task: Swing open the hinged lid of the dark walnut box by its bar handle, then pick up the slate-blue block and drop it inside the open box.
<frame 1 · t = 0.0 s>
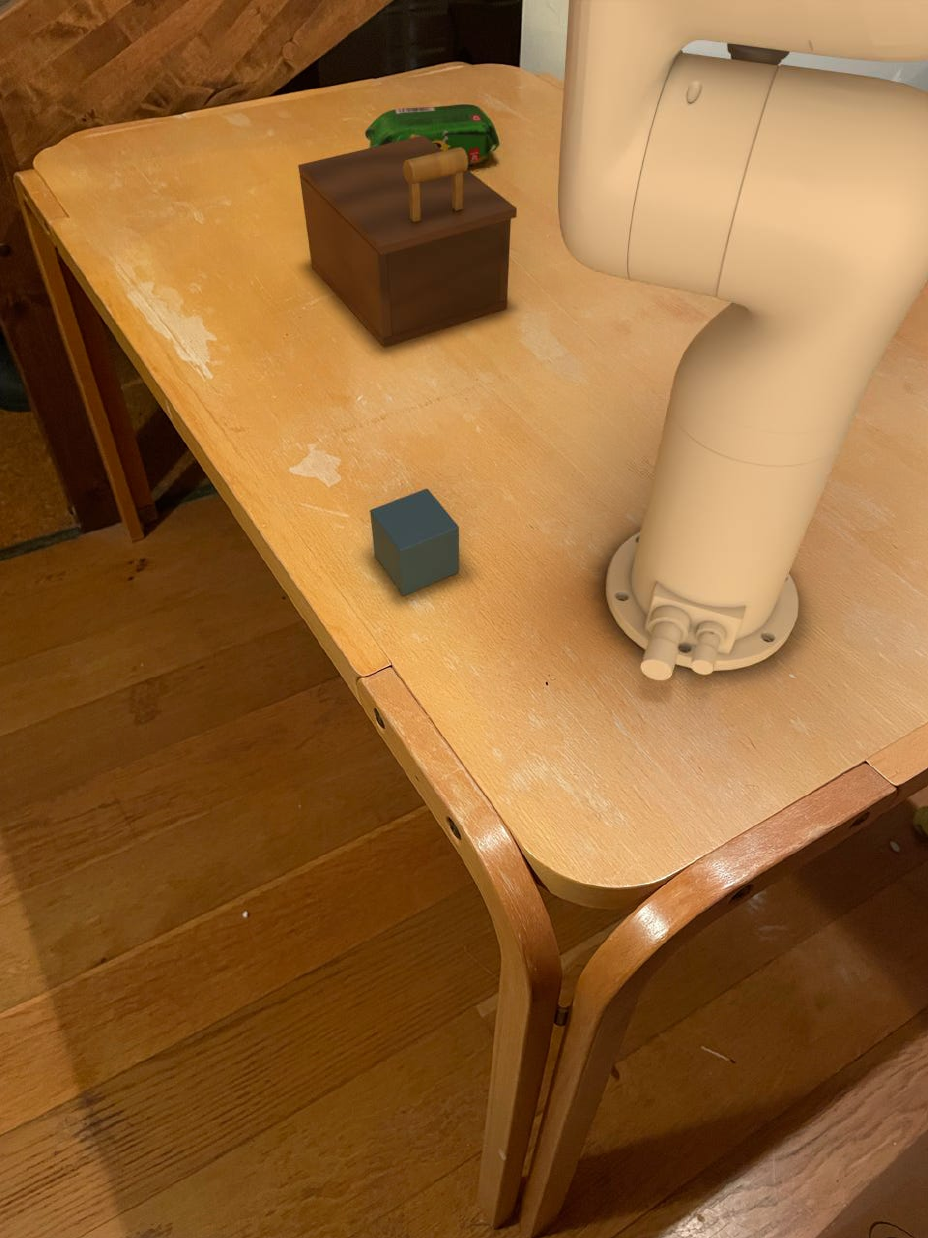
candle holder: (709, 260, 89), on the table
snack package: (432, 162, 103), on the table
lid: (402, 161, 76), point 12 cm above the table, hinge at 0.0°
block: (416, 563, 62), on the table
chest: (406, 287, 85), on the table
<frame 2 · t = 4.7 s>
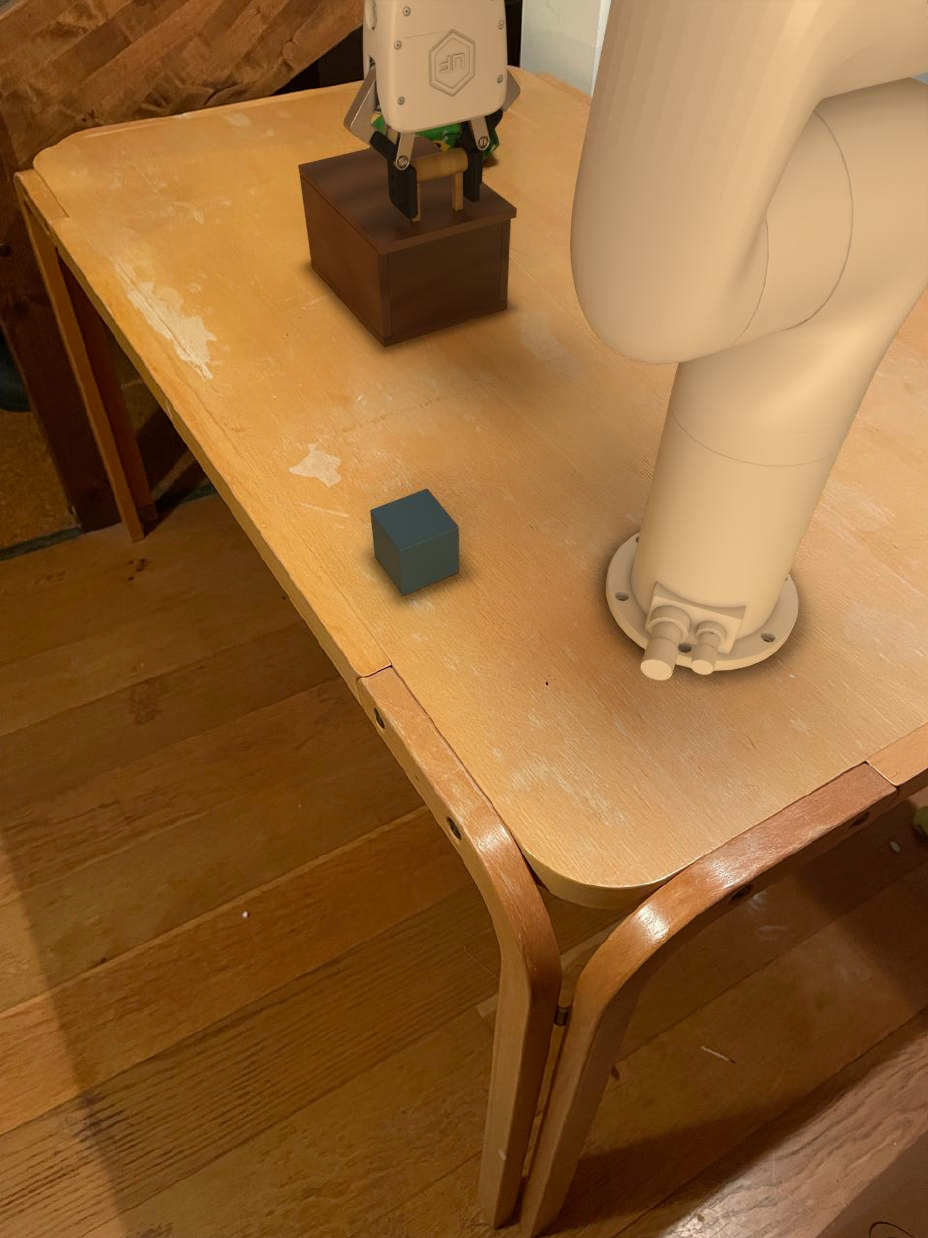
hand: (436, 201, 73), 11 cm above the table, tool pointing down, fingers closed on lid, 5 cm apart
lid: (402, 161, 76), point 12 cm above the table, hinge at 0.0°, touching gripper
everything else where it was.
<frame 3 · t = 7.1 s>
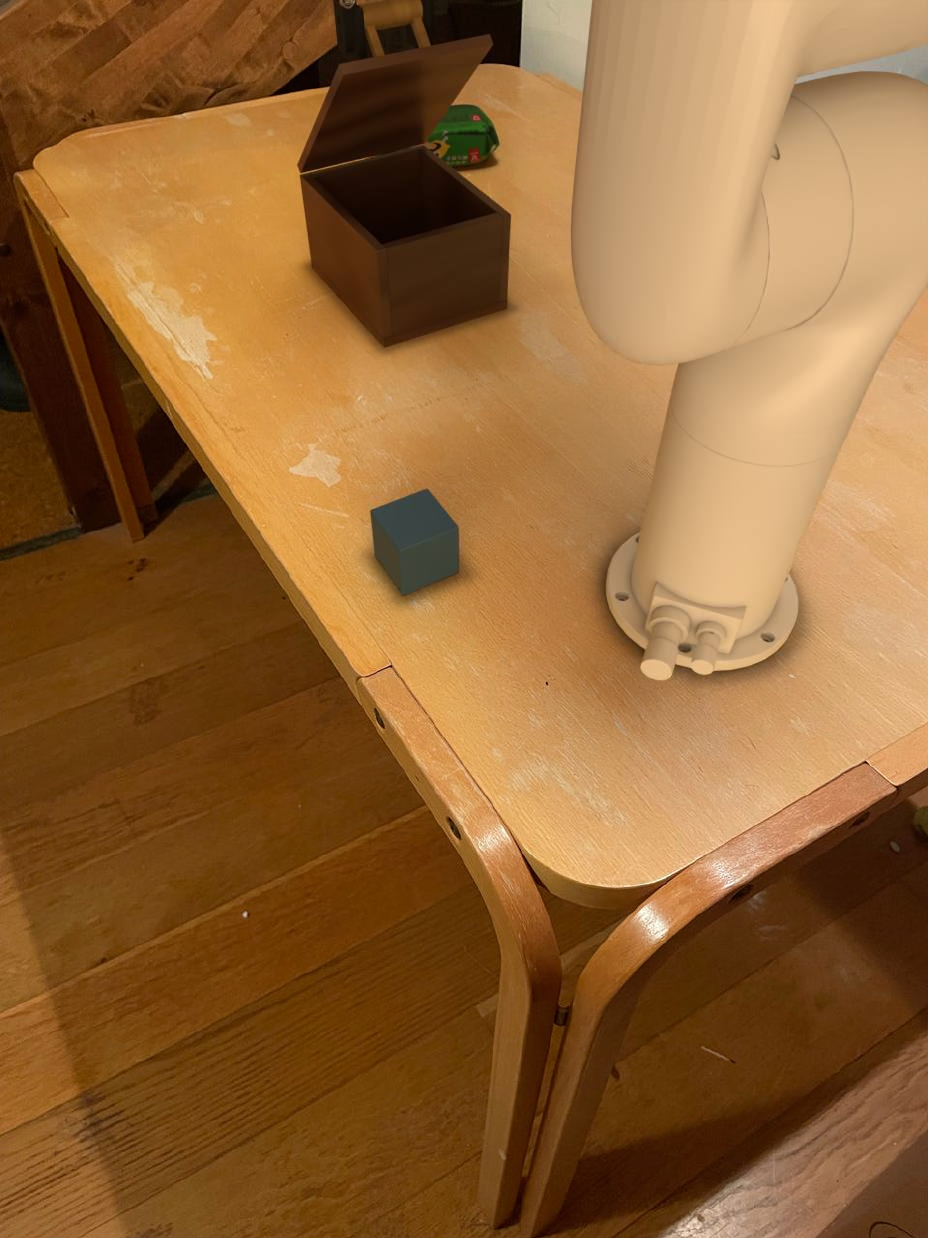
hand: (387, 52, 71), 20 cm above the table, tool pointing down, fingers closed on lid, 5 cm apart
lid: (377, 79, 74), point 17 cm above the table, hinge at 44.4°, touching gripper
everything else where it was.
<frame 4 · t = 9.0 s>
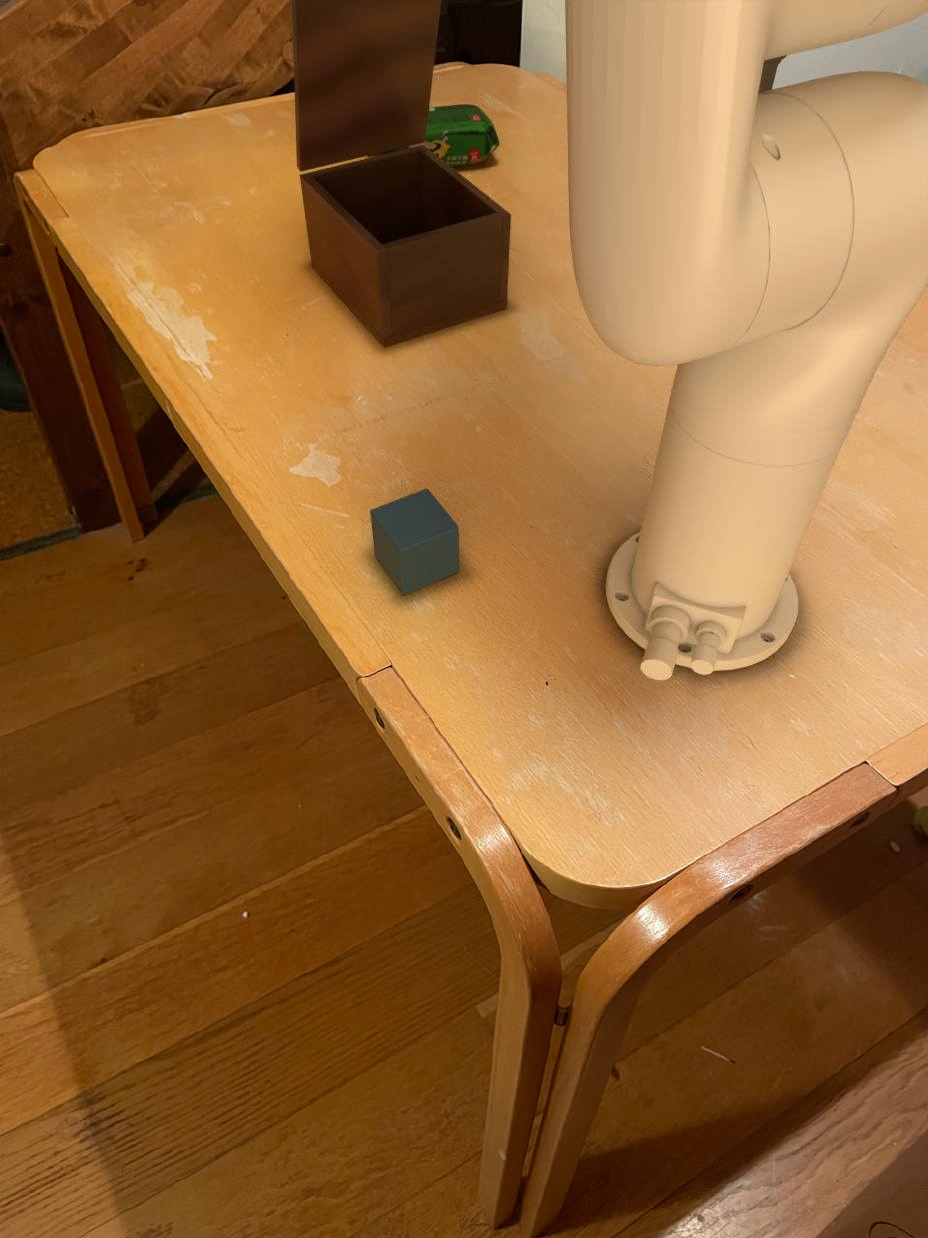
hand: (343, 0, 74), 21 cm above the table, tool pointing down, fingers closed on lid, 5 cm apart
lid: (353, 47, 76), point 18 cm above the table, hinge at 74.2°, touching gripper
everything else where it was.
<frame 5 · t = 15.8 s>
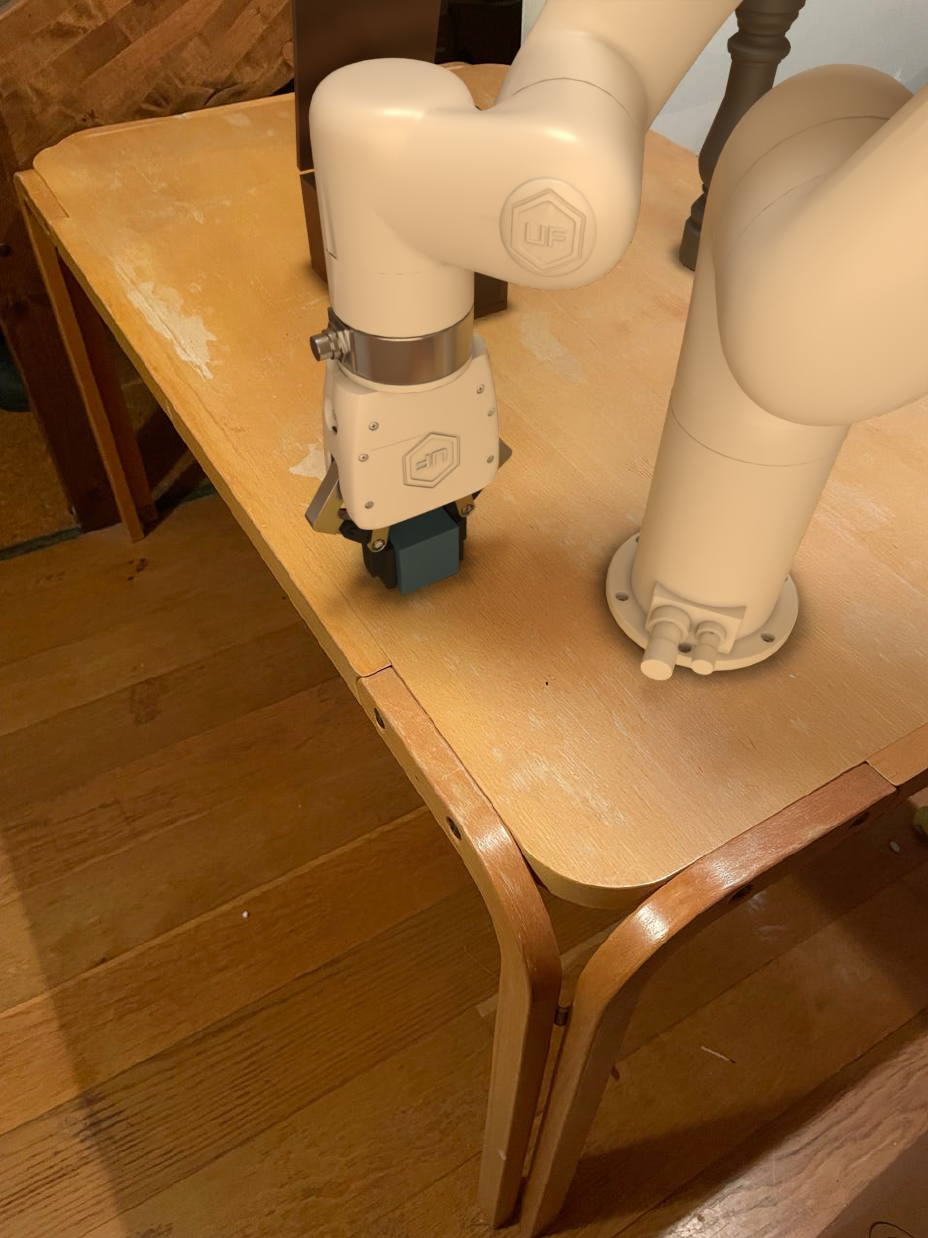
hand: (416, 560, 62), 0 cm above the table, tool pointing down, fingers closed on block, 4 cm apart
lid: (353, 47, 76), point 18 cm above the table, hinge at 74.4°
block: (416, 563, 62), on the table, touching gripper
everything else where it was.
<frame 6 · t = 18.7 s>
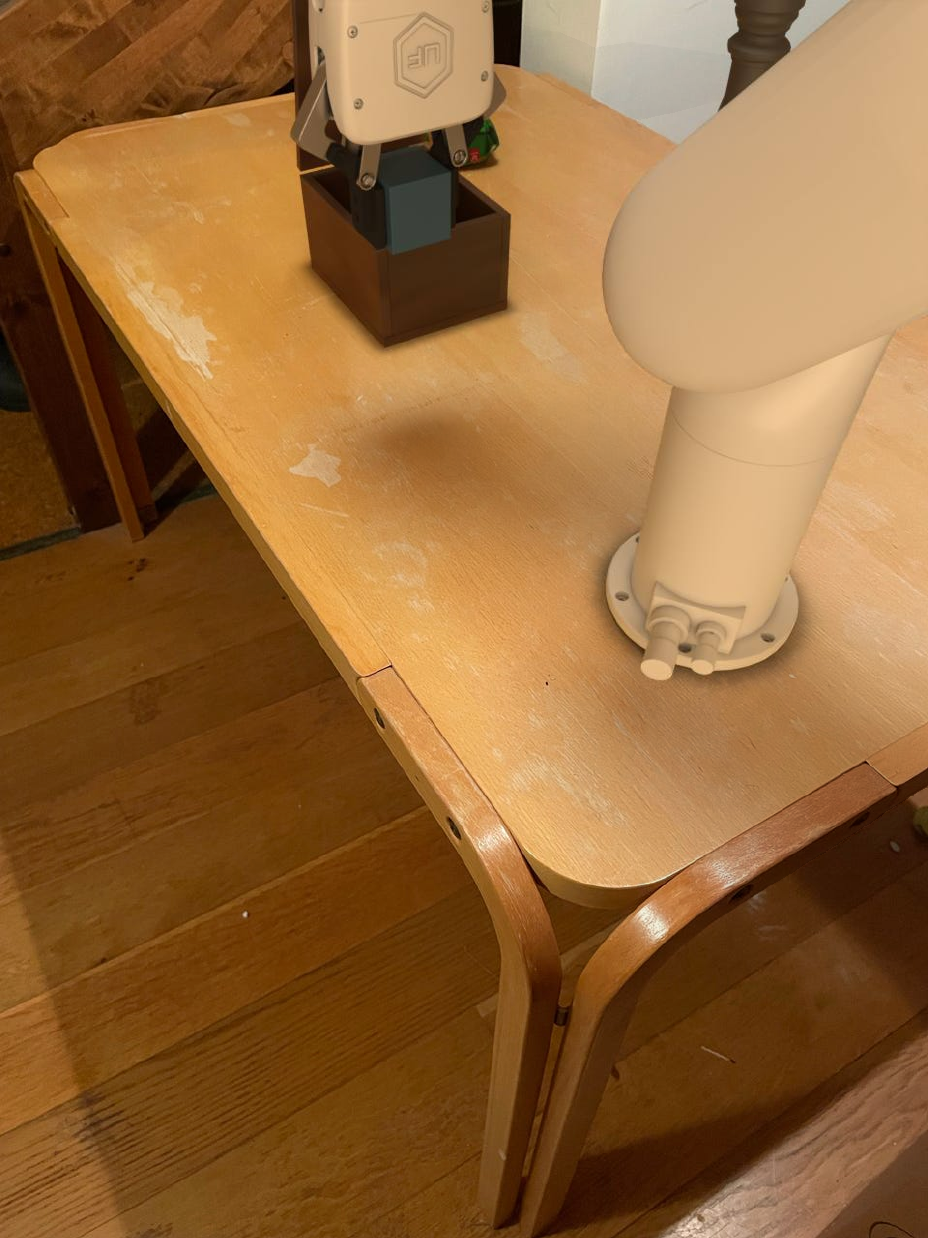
hand: (406, 227, 60), 16 cm above the table, tool pointing down, fingers closed on block, 4 cm apart
block: (406, 232, 60), point 16 cm above the table, touching gripper
everything else where it was.
when the fingers open (10 cm above the table, at t = 21.9 s): block drops 9 cm, resting on chest.
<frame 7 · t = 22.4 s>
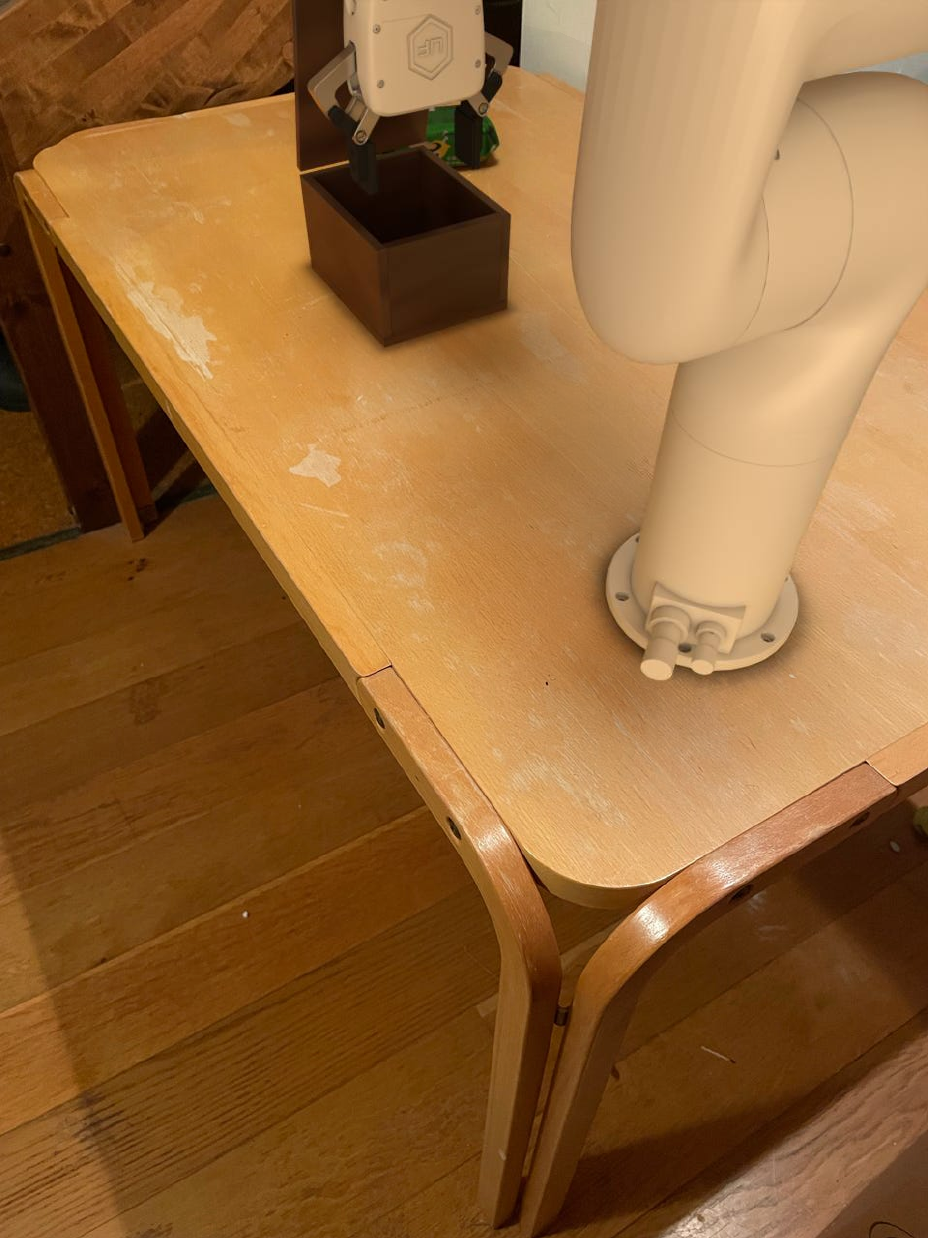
hand: (417, 174, 75), 12 cm above the table, tool pointing down, fingers open, 9 cm apart
block: (421, 293, 83), point 1 cm above the table, touching chest
everything else where it was.
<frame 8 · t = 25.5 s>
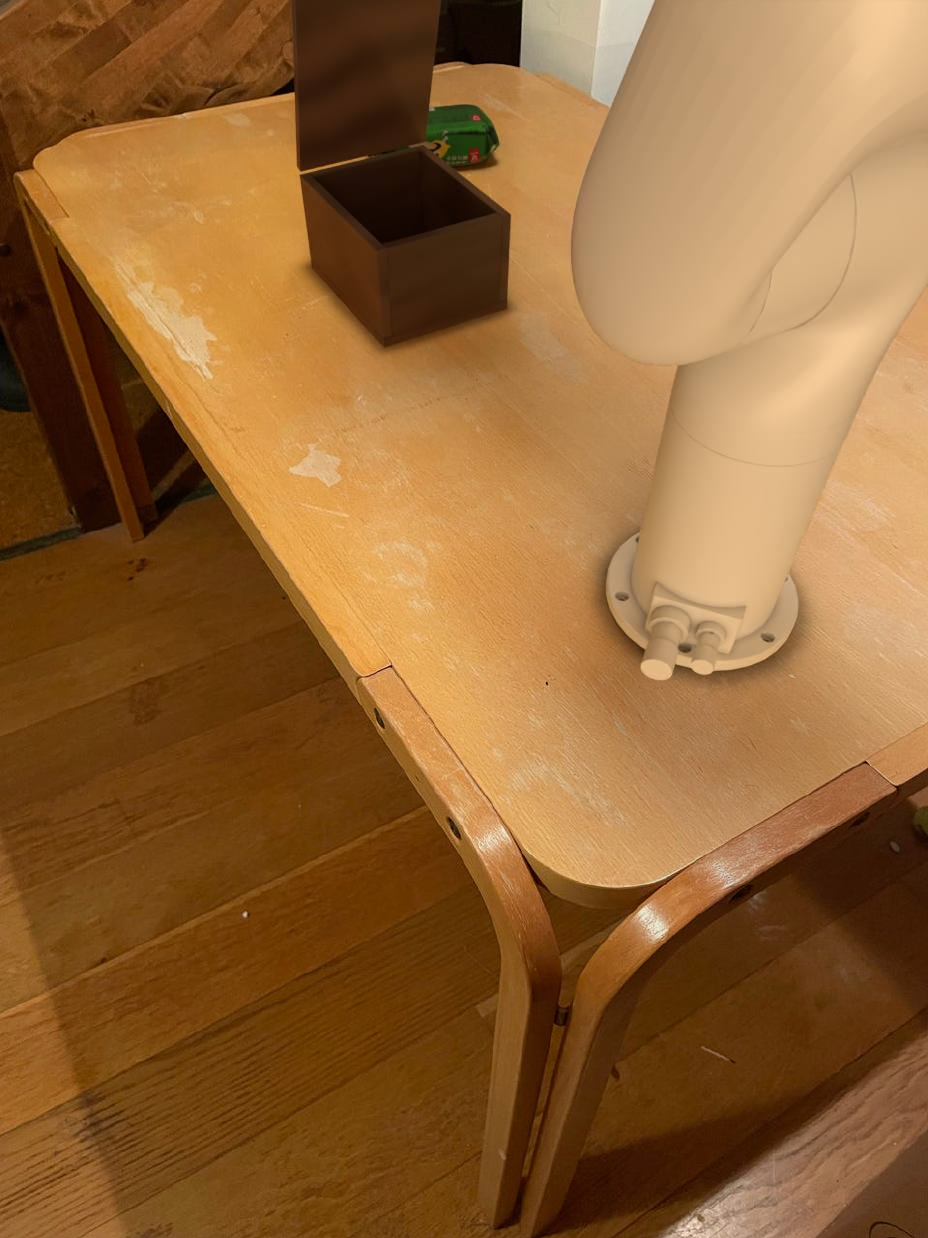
nothing on the table moved.
at the end: lid at +74° (first picture: +0°); block 3.0 cm from the chest (horizontally); block point 0.9 cm above the table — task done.
